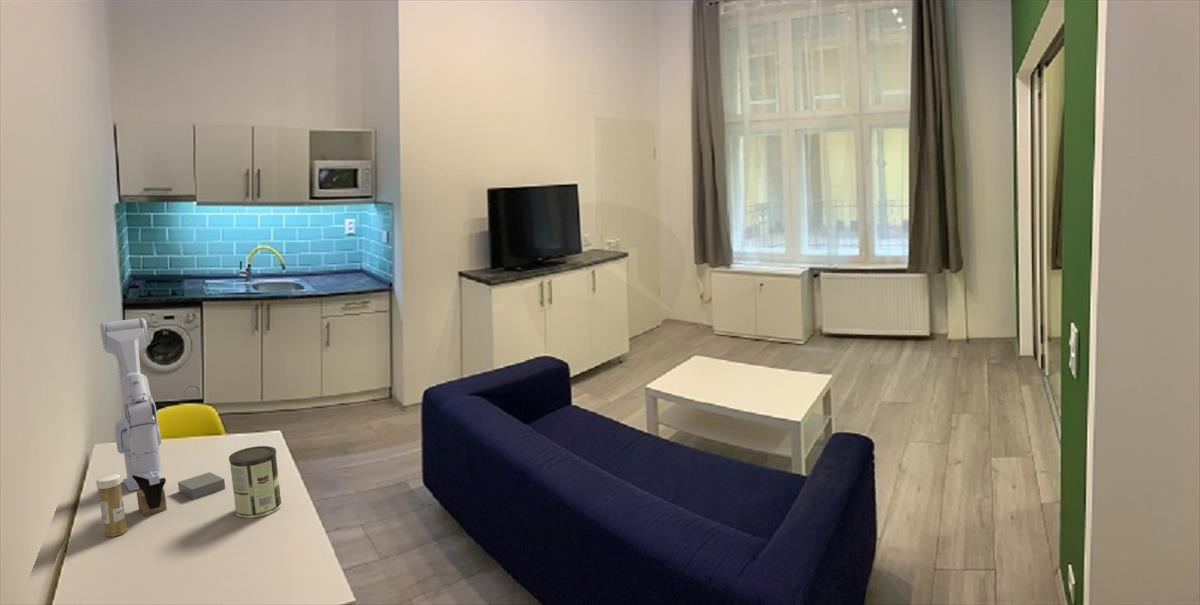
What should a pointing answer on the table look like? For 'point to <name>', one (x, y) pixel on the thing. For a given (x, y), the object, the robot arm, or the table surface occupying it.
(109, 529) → the sprinkles bottle
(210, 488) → the slate slab
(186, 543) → the table surface
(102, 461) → the table surface
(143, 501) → the walnut cube
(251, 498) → the coffee can
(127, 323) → the robot arm
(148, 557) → the table surface
